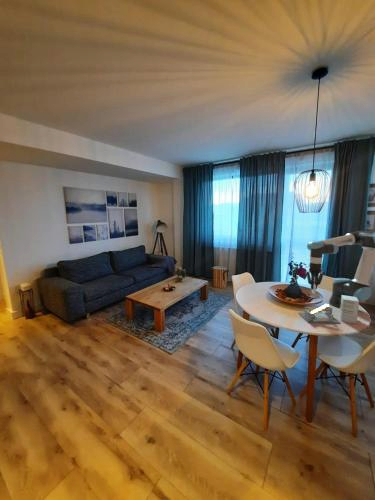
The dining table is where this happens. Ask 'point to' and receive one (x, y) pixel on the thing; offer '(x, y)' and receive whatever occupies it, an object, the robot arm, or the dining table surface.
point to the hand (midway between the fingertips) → (313, 293)
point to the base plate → (318, 316)
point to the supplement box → (349, 309)
